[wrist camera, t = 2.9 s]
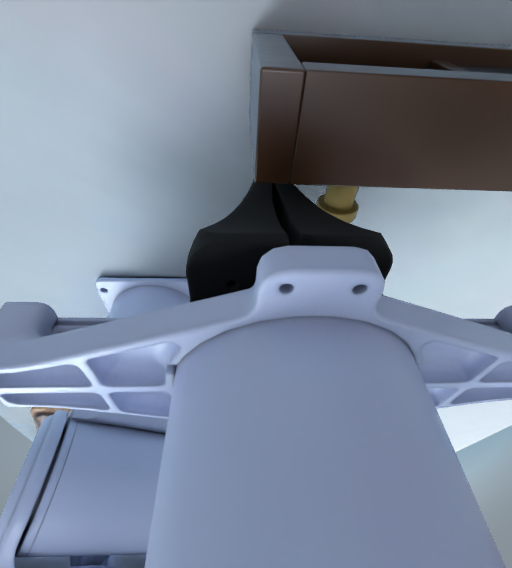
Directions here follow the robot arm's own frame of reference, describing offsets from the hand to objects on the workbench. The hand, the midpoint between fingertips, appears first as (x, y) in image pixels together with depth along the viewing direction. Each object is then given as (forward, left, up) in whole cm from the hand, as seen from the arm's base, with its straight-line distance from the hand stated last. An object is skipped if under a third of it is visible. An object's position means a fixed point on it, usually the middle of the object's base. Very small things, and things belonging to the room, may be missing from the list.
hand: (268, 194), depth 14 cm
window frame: (+4, -7, -4) cm, 9 cm away
